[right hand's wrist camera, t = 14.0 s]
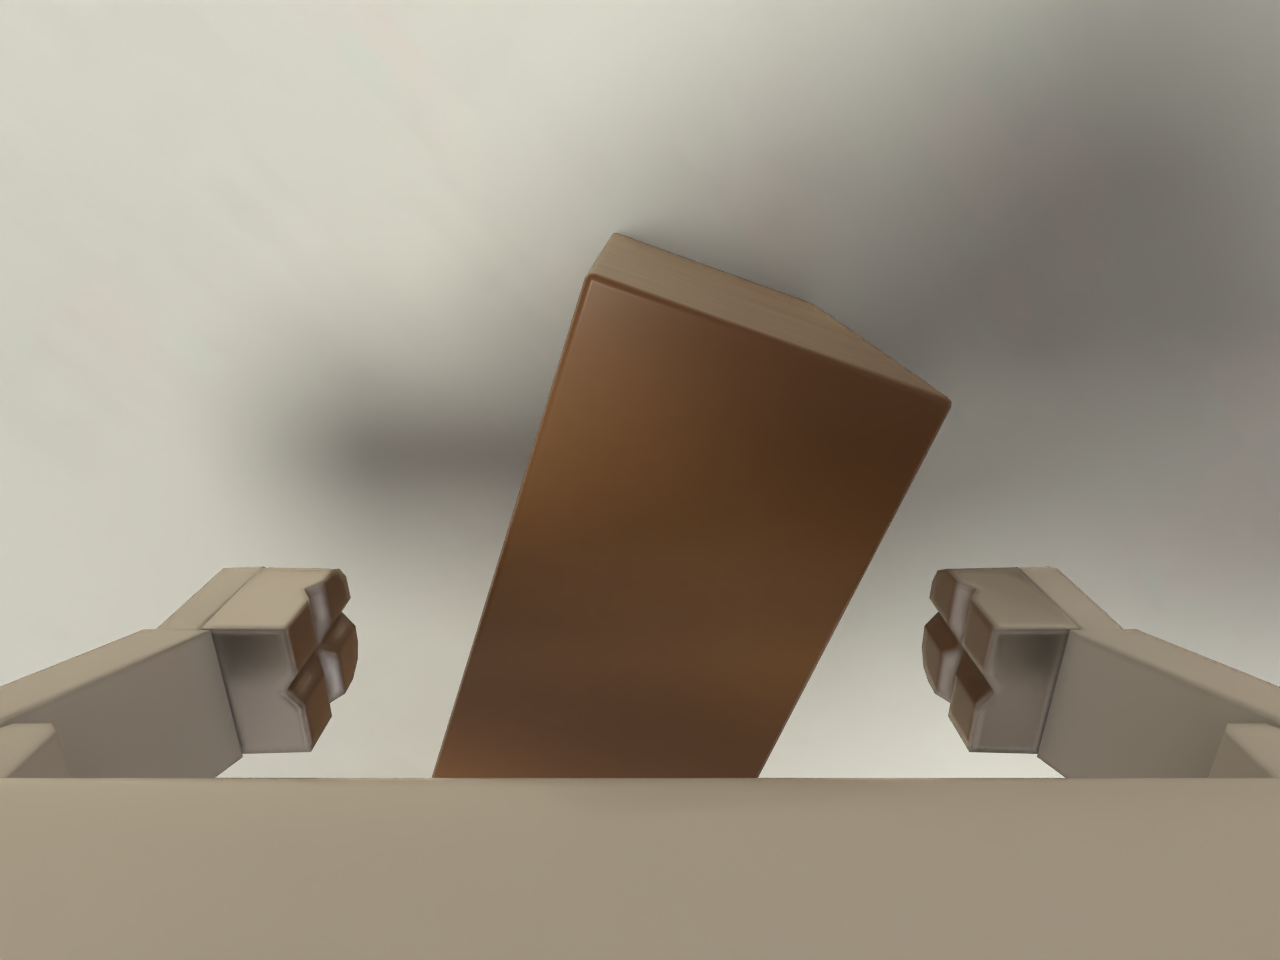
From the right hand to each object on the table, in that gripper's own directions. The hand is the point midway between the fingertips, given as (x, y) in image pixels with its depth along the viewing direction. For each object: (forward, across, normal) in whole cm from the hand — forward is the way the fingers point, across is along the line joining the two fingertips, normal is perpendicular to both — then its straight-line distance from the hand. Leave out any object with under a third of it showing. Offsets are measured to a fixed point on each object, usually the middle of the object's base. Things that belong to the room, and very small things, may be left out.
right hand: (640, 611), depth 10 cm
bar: (+8, -2, -7) cm, 11 cm away
